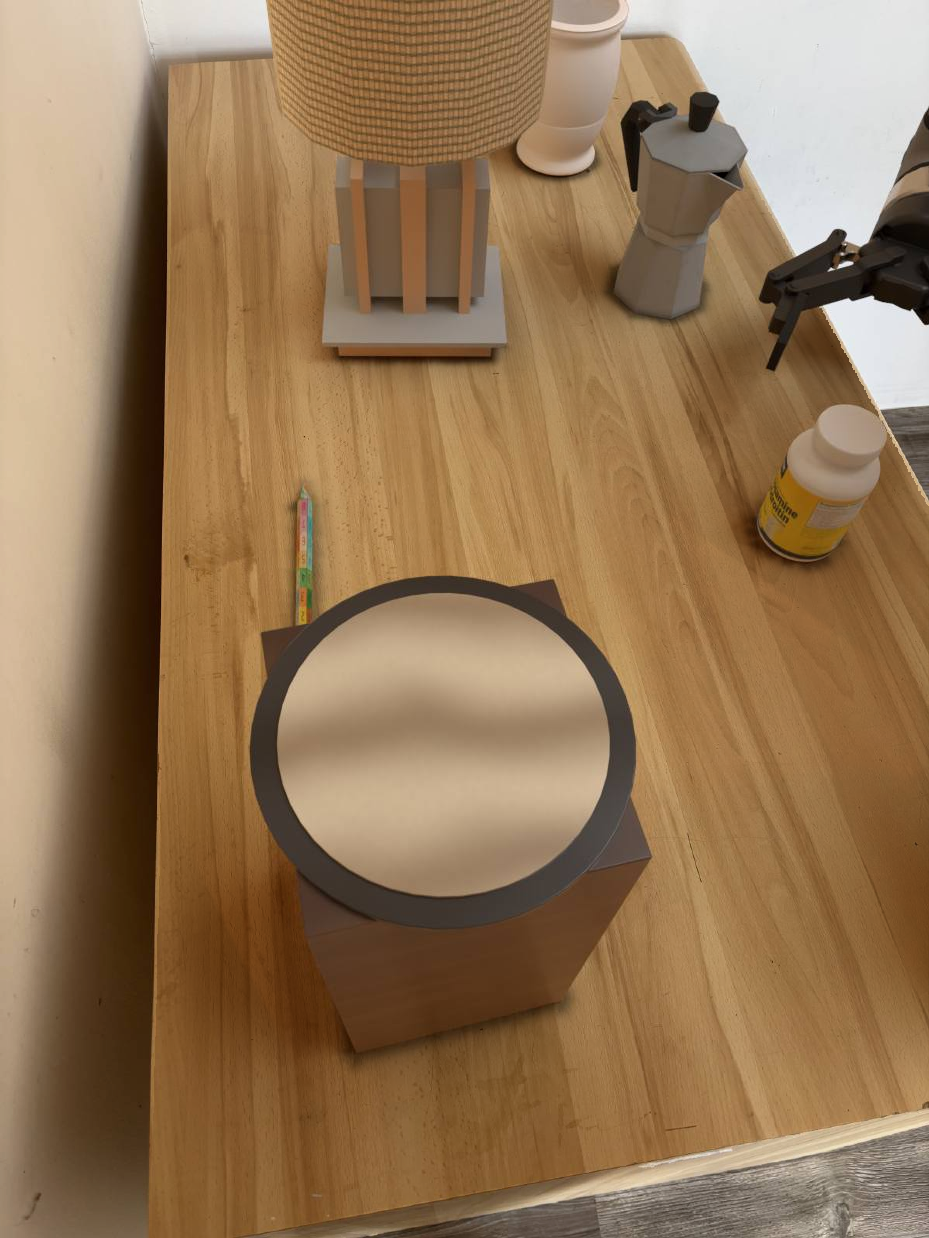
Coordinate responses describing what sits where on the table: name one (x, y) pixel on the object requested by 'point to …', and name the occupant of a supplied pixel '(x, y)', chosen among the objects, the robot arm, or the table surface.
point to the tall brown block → (447, 799)
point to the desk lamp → (412, 157)
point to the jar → (575, 85)
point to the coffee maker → (674, 200)
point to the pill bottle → (822, 483)
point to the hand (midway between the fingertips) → (862, 387)
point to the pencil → (304, 559)
